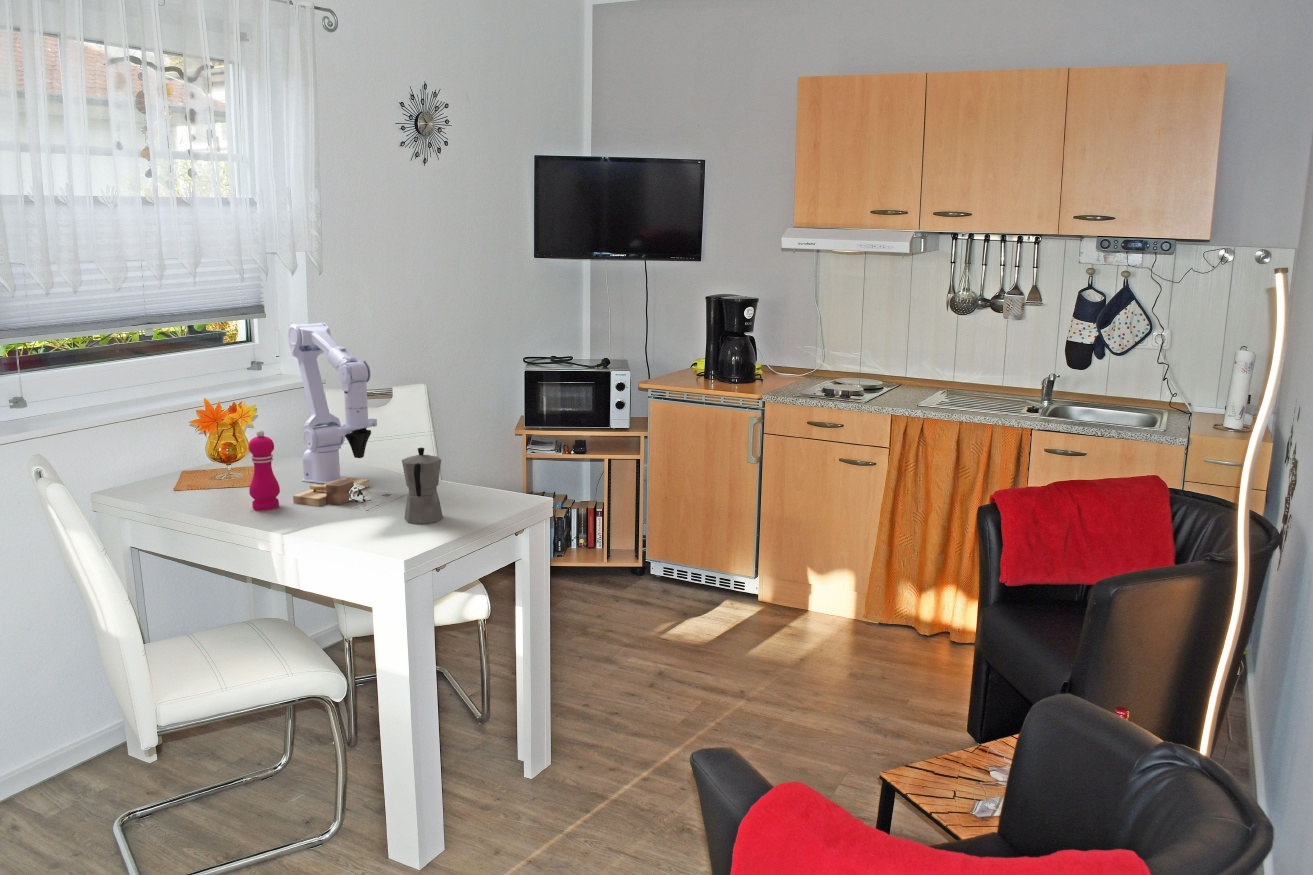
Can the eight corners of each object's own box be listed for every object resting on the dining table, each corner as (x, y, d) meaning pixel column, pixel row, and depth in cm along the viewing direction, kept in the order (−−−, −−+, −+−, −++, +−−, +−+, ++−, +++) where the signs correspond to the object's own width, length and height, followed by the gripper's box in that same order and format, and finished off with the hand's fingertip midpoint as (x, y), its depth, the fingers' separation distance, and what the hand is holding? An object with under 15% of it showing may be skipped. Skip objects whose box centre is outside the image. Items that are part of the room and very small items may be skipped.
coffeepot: (408, 511, 246) (405, 441, 242) (446, 511, 247) (443, 441, 243) (398, 530, 231) (395, 456, 227) (439, 529, 232) (436, 455, 228)
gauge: (304, 500, 254) (303, 482, 253) (319, 495, 260) (318, 476, 259) (340, 505, 251) (338, 486, 250) (354, 499, 256) (353, 480, 255)
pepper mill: (270, 512, 244) (264, 433, 240) (244, 510, 246) (238, 432, 242) (286, 504, 251) (281, 428, 247) (261, 502, 253) (255, 426, 249)
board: (293, 503, 252) (292, 495, 252) (344, 483, 272) (344, 476, 271) (319, 506, 250) (318, 498, 249) (369, 486, 269) (368, 479, 269)
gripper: (351, 413, 250) (354, 464, 253) (385, 403, 263) (387, 453, 266) (328, 411, 252) (331, 462, 255) (363, 401, 265) (366, 450, 268)
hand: (358, 457), depth 261 cm, fingers closed
